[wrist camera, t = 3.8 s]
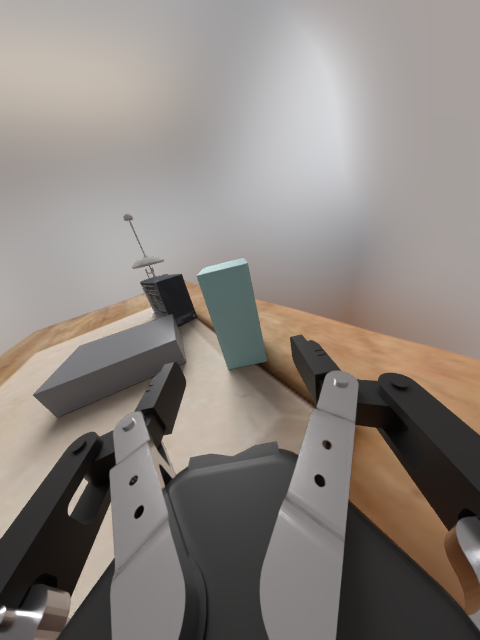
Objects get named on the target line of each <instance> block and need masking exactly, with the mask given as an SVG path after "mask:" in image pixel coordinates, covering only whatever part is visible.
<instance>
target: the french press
mask: <svg viewBox="0 0 480 640" xmlns="http://www.w3.org/2000/svg"><path fill="white" fill-rule="evenodd" d="M132 219H133V217H132V216H131V215H130V214H126V215H124V220H125V221H128V220H129V222H130V220H132ZM130 225H131V226H132V224H131V222H130ZM132 229H133V226H132ZM133 231H134V229H133ZM134 233H135V231H134ZM135 236H136V238H137V235H136V234H135ZM137 240H138V238H137ZM138 242H139V240H138ZM139 244H140V242H139ZM140 247H141V245H140ZM141 249H142V247H141ZM142 251H143V250H142ZM143 253H144V251H143ZM163 261H164V259H162V258H160V257H154V256H153V257H148V256H145V254H144V257H143V258H142V259H140V260H138V261H137V262H136V263H135V264H134V265H133V266H132V268H133V269H135V268H141V267H145V266H148V265H149V267H150V265H152V264H156V263H159V262H163ZM150 269H151V273H152V274H153V276H154V277H153V278H155V275H154V270H153V268H151V267H150ZM145 270H146V269H145ZM146 273H147V275H148V274H150V273H148V272H147V270H146ZM165 275H168V274H165ZM162 276H163V275H162ZM148 277H149V276H148ZM156 277H157V276H156ZM158 277H159V276H158ZM149 279H152V278H149ZM146 280H147V279H146ZM144 281H145V280H144ZM143 290H144V289H143ZM144 292H145V291H144ZM145 294H146V293H145ZM146 296H147V295H146ZM147 298H148V297H147ZM148 301H149V299H148ZM149 302H150V301H149ZM150 305H151V303H150ZM152 309H153V308H152ZM153 311H154V310H153ZM152 317H154V318H157V317H156V314H155V312H154V313H153V316H152Z"/></svg>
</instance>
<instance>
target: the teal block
mask: <svg viewBox="0 0 480 640" xmlns="http://www.w3.org/2000/svg"><path fill="white" fill-rule="evenodd" d="M197 278H198V281H199V284H200V287H201V290H202V293H203V296H204V299H205V302H206V305H207V308H208V311H209V314H210V317H211V320H212V323H213V326H214V329H215V332H216V335H217V338H218V341H219V344H220V347H221V350H222V353H223V356H224V359H225V361H226V364H227V367H228V370H230V369H235V368H239V367H244V366H248V365H253V364H258V363H262V362H267V357H266V352H265V347H264V342H263V337H262V332H261V327H260V322H259V317H258V312H257V307H256V302H255V298H254V293H253V287H252V282H251V277H250V272H249V267H248V263H247V262H246V260H245V259H244V258H242V259H238V260H233V261H229V262H225V263H222V264H218V265H213V266H209V267H205V268H203V270H202V271H201V272H200V273H199V274H198V275H197Z"/></svg>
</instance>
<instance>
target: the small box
mask: <svg viewBox="0 0 480 640" xmlns="http://www.w3.org/2000/svg"><path fill="white" fill-rule="evenodd" d="M140 283H141V285H142V287H143V289H144V291H145V293H146V295H147V297H148V299H149V301H150V303H151V306H152V308H153V310H154V312H155V314H156V317H157V319H159V318H162V317H165V316H167V315H170V314H173V316H174V319H175V321H176V323H177V325H178V326H180V325H182V324H184V323H186V322H188V321H190V320H192V319H194V318H196V317H197V315H196V312H195V310H194V307H193V304H192V301H191V299H190V296H189V293H188V290H187V287H186V285H185V282H184V279H183V276H182V274H174V275H163V276H159V277H155V278H152V279H148V280H145V281H141V282H140Z"/></svg>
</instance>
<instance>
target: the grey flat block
mask: <svg viewBox="0 0 480 640" xmlns="http://www.w3.org/2000/svg"><path fill="white" fill-rule="evenodd" d="M172 362H177V363H178V364H179V365H181V364H183V363H185V362H186V359H185V354H184V349H183V344H182V339H181V334H180V330H179V328H178V325H177V323H176V321H175V319H174V316H173V314H170V315H167V316H165V317H162V318H159V319H156V320H153V321H150V322H147V323H144V324H141V325H139V326H136V327H133V328H130V329H127V330H124V331H121V332H118V333H115V334H113V335H110V336H107V337H104V338H101V339H98V340H95V341H92V342H90V343H87V344H84V345H81V346H79V347H78V348H77V349H76V350H75V351H74V352H73V353H72V354H71V355H70V357H69V358H68V359H67V360H66V361H65V362H64V363H63V364H62V365H61V366H60V367H59V368H58V369H57V370H56V371H55V372H54V373H53V374H52V375H51V376H50V377H49V379H48V380H47V381H46V382H45V383H44V384H43V385H42V386H41V387H40V388H39V389H38V390H37V391H36V392H35V393H34V394H33V396H34V397H35V398H36V399H38V400H39V401H40V402H41V403H42V404H43V405H44V406H45V407H46V408H47V409H48V410H49V411H51V412H52V413H53V414H54V415H55V416H56V417H57V418H58V417H60V416H62V415H65V414H67V413H69V412H72V411H74V410H76V409H79V408H81V407H83V406H85V405H88V404H90V403H92V402H95V401H97V400H99V399H102V398H104V397H106V396H109V395H111V394H113V393H116V392H118V391H120V390H123V389H125V388H127V387H130V386H132V385H134V384H137V383H139V382H141V381H144V380H146V379H148V378H151V377H153V376H155V375H157V374H158V373H160V372H161V370H162V368H163V366H164V365H165V364H168V363H172Z"/></svg>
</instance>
